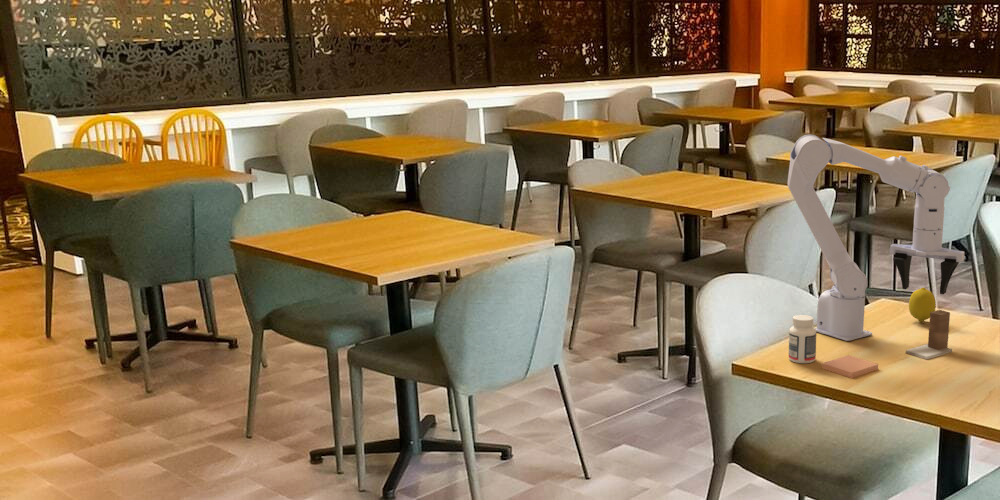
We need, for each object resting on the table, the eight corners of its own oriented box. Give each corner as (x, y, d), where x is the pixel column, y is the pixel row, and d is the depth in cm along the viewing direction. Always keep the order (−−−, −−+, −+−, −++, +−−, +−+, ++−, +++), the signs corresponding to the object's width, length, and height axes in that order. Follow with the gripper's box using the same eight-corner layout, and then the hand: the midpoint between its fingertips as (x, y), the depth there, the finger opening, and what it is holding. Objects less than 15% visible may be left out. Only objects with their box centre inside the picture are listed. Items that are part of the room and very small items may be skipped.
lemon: (936, 326, 227) (939, 291, 225) (910, 325, 228) (912, 290, 226) (931, 319, 232) (934, 284, 230) (905, 318, 233) (907, 284, 232)
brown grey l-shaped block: (905, 353, 210) (907, 315, 209) (931, 345, 215) (934, 308, 213) (926, 359, 206) (929, 321, 204) (952, 351, 210) (955, 313, 209)
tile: (848, 362, 207) (821, 370, 203) (848, 355, 207) (822, 363, 203) (877, 372, 202) (851, 380, 197) (878, 364, 201) (851, 372, 197)
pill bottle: (816, 356, 210) (817, 314, 208) (814, 364, 205) (816, 322, 203) (789, 354, 212) (790, 312, 210) (787, 362, 207) (788, 320, 205)
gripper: (886, 227, 217) (883, 290, 220) (959, 235, 208) (954, 299, 211) (897, 221, 223) (894, 282, 226) (968, 228, 214) (964, 292, 217)
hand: (924, 290), depth 219 cm, fingers open, 7 cm apart
